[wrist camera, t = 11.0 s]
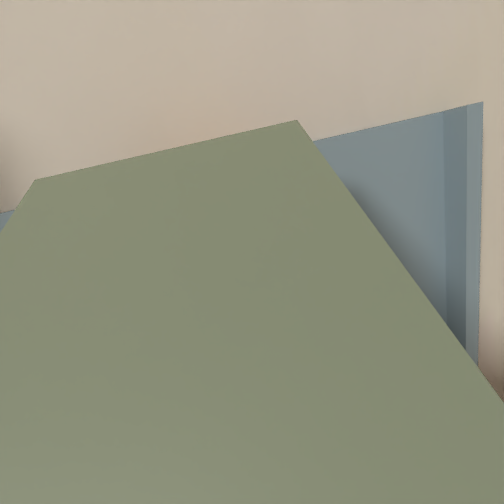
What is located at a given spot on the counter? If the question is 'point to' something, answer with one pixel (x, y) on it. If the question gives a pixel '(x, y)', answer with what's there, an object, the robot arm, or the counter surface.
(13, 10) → the counter surface
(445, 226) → the tray
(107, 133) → the counter surface
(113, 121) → the counter surface
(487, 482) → the cream cube green side
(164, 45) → the counter surface
